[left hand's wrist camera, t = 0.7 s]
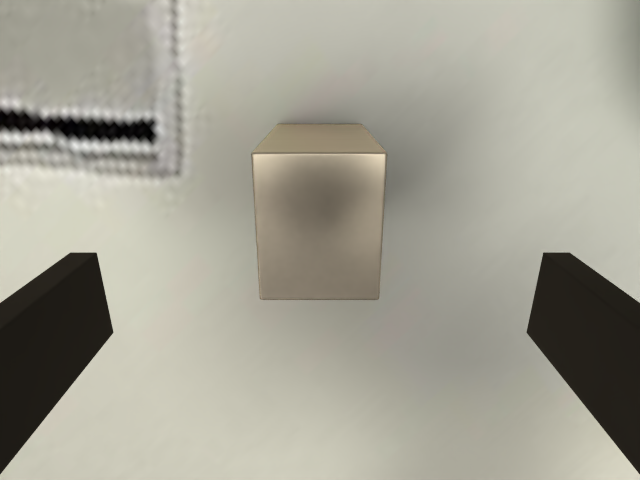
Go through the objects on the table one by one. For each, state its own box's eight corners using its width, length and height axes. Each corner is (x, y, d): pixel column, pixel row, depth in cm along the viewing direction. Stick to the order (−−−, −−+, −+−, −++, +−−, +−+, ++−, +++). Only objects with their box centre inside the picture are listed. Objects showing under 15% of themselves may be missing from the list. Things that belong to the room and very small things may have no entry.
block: (358, 223, 30) (379, 300, 19) (280, 223, 30) (259, 300, 19) (362, 123, 27) (387, 152, 17) (276, 123, 27) (250, 152, 17)
